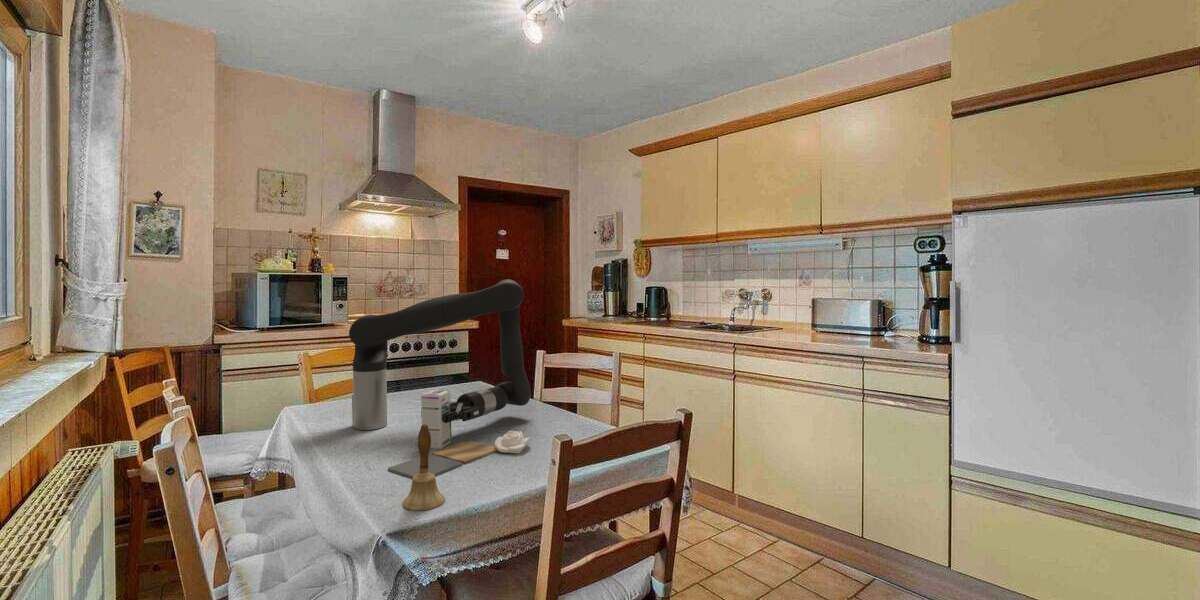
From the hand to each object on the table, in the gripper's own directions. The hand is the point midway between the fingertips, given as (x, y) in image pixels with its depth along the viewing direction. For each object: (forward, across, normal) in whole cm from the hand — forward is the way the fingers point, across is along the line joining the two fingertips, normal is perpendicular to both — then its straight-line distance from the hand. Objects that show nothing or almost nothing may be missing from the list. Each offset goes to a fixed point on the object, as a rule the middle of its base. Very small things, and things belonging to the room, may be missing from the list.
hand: (432, 416), depth 147 cm
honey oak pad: (-1, +11, +8) cm, 14 cm away
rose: (-10, +19, +8) cm, 23 cm away
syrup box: (-1, 0, +8) cm, 8 cm away
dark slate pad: (+12, +11, +8) cm, 18 cm away
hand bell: (+25, +26, +8) cm, 37 cm away
